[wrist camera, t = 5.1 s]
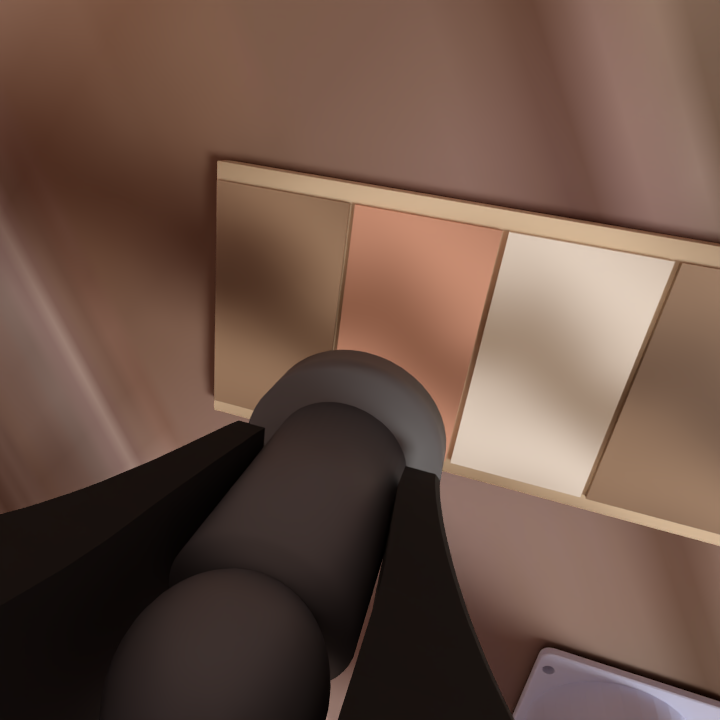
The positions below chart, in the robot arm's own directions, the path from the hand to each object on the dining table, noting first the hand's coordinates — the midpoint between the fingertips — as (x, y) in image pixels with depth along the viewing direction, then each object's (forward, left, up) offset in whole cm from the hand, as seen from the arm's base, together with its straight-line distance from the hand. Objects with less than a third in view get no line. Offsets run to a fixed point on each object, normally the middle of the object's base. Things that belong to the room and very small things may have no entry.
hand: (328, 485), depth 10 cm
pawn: (0, 0, -2) cm, 2 cm away
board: (0, -5, -10) cm, 11 cm away
